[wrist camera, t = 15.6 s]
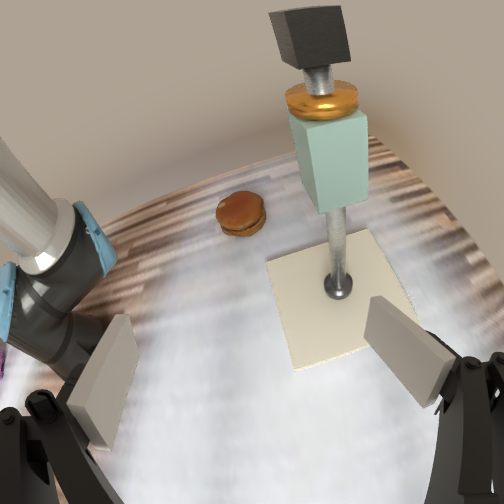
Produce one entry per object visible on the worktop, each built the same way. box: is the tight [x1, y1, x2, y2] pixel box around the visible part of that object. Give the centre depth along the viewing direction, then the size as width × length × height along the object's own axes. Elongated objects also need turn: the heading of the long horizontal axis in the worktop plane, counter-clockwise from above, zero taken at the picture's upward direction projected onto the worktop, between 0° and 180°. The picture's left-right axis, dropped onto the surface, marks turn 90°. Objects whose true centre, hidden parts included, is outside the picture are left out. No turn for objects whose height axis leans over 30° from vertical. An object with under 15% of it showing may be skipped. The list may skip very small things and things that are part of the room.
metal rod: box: [269, 6, 359, 300], centre depth 25 cm, size 5×5×34 cm
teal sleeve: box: [286, 107, 368, 214], centre depth 21 cm, size 5×5×8 cm
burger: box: [216, 191, 266, 237], centre depth 52 cm, size 10×9×5 cm
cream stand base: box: [265, 228, 419, 372], centre depth 38 cm, size 18×18×2 cm
